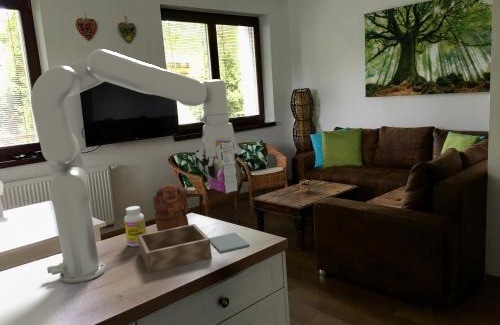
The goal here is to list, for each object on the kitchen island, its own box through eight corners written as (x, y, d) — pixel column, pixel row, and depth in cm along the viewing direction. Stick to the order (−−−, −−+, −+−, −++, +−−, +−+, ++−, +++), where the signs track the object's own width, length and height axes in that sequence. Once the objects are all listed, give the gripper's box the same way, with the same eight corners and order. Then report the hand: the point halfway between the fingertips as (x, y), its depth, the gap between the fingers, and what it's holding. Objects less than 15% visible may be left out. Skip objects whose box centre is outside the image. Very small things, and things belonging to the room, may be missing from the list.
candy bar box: (207, 188, 138) (203, 139, 135) (220, 185, 140) (216, 137, 137) (225, 194, 129) (220, 141, 126) (238, 191, 131) (234, 139, 128)
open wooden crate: (149, 272, 120) (146, 253, 119) (140, 252, 135) (137, 235, 134) (211, 257, 127) (209, 239, 126) (196, 240, 142) (194, 223, 141)
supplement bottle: (126, 248, 140) (121, 211, 138) (128, 241, 147) (123, 206, 144) (147, 245, 142) (142, 209, 139) (147, 238, 148) (143, 204, 146)
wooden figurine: (163, 238, 147) (157, 189, 144) (156, 233, 152) (150, 186, 149) (192, 229, 154) (187, 182, 150) (185, 225, 159) (179, 180, 156)
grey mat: (220, 252, 130) (220, 251, 130) (207, 240, 142) (207, 238, 142) (249, 245, 134) (249, 244, 134) (235, 234, 146) (234, 232, 146)
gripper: (193, 123, 124) (199, 182, 127) (246, 117, 130) (250, 174, 133) (186, 122, 131) (192, 178, 134) (237, 116, 137) (241, 170, 140)
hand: (221, 175), depth 134 cm, fingers closed on candy bar box, 5 cm apart
